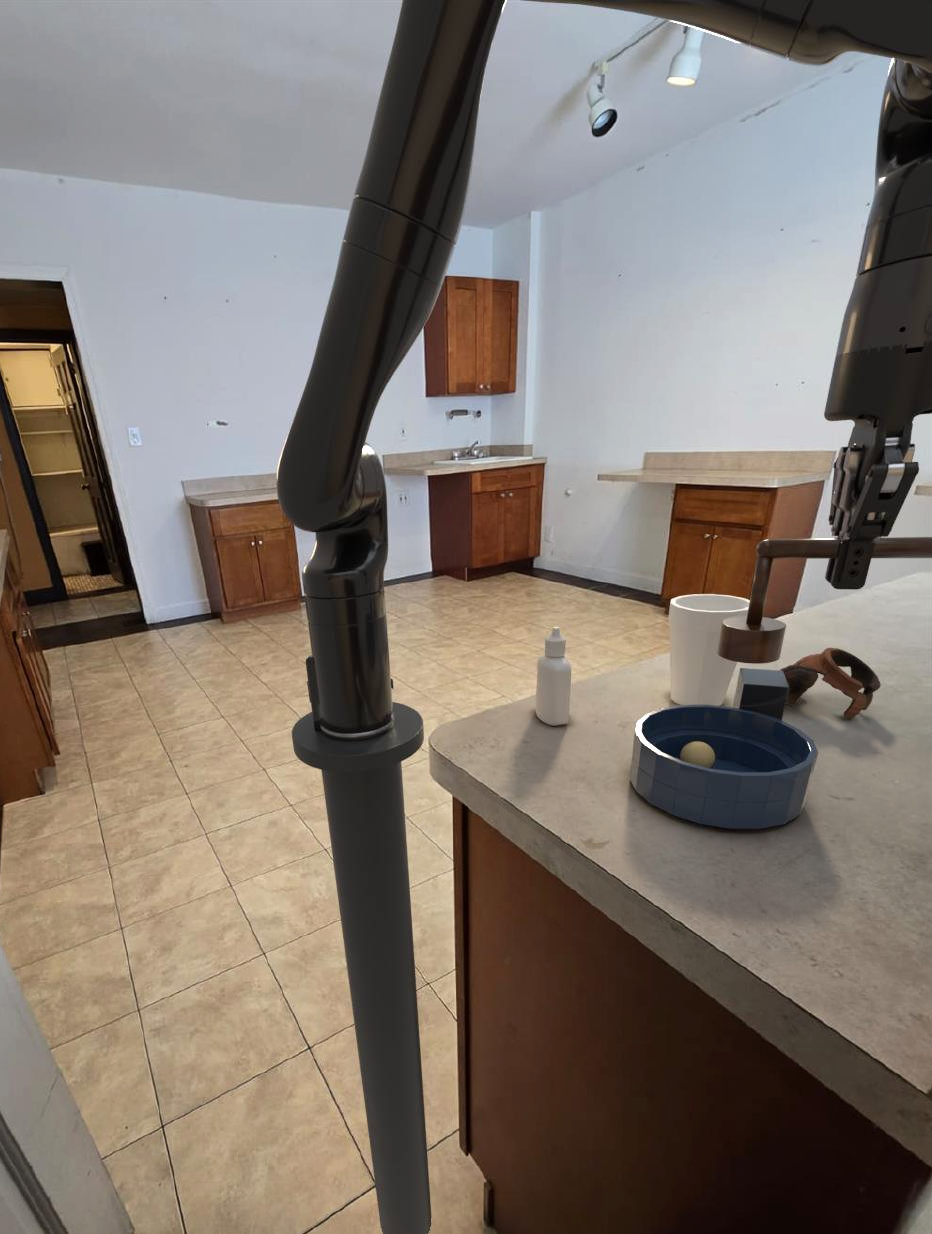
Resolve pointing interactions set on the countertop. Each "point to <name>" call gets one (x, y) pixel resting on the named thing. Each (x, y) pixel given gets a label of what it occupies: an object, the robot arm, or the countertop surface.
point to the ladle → (754, 632)
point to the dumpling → (698, 754)
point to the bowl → (723, 766)
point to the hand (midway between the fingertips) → (843, 584)
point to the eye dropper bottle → (553, 681)
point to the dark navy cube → (762, 692)
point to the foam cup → (700, 647)
